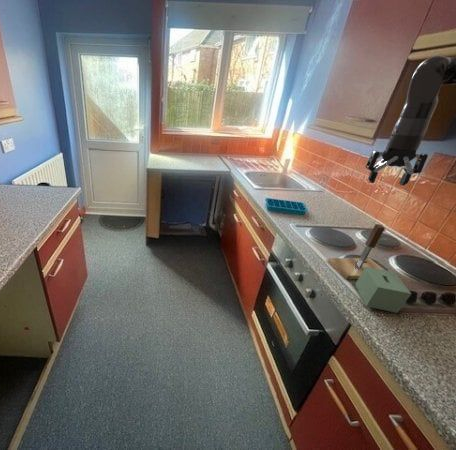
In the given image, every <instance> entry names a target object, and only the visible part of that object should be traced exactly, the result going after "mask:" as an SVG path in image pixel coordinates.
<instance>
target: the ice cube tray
mask: <svg viewBox="0 0 456 450" xmlns="http://www.w3.org/2000/svg"><path fill="white" fill-rule="evenodd" d="M264 201H265V208H266V210H267V211H268V212H275V213H281V214H290V215H296V216H305V214H306V213H307V212H309V209H308V207H307V206H306V204H305V203H304V202H302V201H294V200H288V199H287V200H286V199H280V198H279V199H278V198H272V197H271V198H270V197H265V199H264Z"/></svg>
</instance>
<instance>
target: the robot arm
mask: <svg viewBox="0 0 456 450" xmlns="http://www.w3.org/2000/svg"><path fill="white" fill-rule="evenodd" d="M448 85H449V86H450V85H456V56H449V57H447V56H444V55H434V56H431V57H428V58H427V59H425V60H424V61H422V62H421V63H419V65H417V67H416V69H415V70H414V72H413V74H412V76H411V79H410V83H409V86H408V90H407V96H406V100H405V103H404V105H403V107H402V110H401V112H400V115H399V117H398V119H397V121H396V123H395V124H394V126H393V129H392V131H391V134H390V136H389V139H388V142H387V143H386V147H385V150H383V151H377V150H372V151H371V153H370V156H369V158H368V160H367V162H366V165H365V169H367V170H369V171H370V173H369V175H368V178H367V180H368V182H369V183H370V184H374V183H375V181H376V180H377V177H378V174H379V172H380V171H381V170H382V169H384V168H386V167H388V166H389V167H399V168H400V167H402V169H403V171H404V172H403V174H402V176H401V178H400V180H399V182H398V184H399V185H400V186H403V187H404V186H406V185H407V184H408V183H409V182H410V180H411V178H412V176H413V175H414V174H421V173H422V171H423V169H424V167H425V164H426V163H427V159H428V157H429V155H428V154H427V153H424V152H420V153H417V151H418V149H419V148H420V145H421V144H422V141H423V139H424V137H425V134H426V133H427V130H428V128H429V125H430V121H431V119H432V117H433V114H434V112H435V110H436V108H437V105H438V103H439V96H438V95H439V93H440V90H441V87H442V86H448ZM381 157H382V159H380V158H381ZM378 159H380V160H379V161H378V162H377V160H378ZM414 159H415V163H414V165H413V166H412V164H411V161H413V160H414ZM376 162H377V163H376Z"/></svg>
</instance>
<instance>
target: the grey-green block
mask: <svg viewBox="0 0 456 450" xmlns="http://www.w3.org/2000/svg"><path fill="white" fill-rule="evenodd" d="M354 286H355V288H356V290H357V291H358V293H359V295H360V297H361V299H362V300H363V303H364V304H365V307H368V308H372V309H377V310H382V311H386V312H391V313H395V314H398V313H399V312H400V310H401V309H402V307H403V306H404V305H405V304H406V302H407V301H408V300H409V298H410V296H411V295H412V292H411V290H409V289H408V287H407V286H406V284H405V283H404V282H403V281H402V280H401V278H400V277H399V276H398V274H397V273H396V272H395V271H392V270H386V269H384V270H381V269H376V268H370V267H365V268H364V269H363V271H362V273H361V275H360V277H359V278H358V279H356V282H355V284H354Z"/></svg>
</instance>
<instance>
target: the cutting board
mask: <svg viewBox="0 0 456 450" xmlns="http://www.w3.org/2000/svg"><path fill="white" fill-rule="evenodd" d="M359 258H360V257H348V258H347V257H329V258H328V261H327V262H328V263H329V264H330V265H331V266H332V267H333V268H334V269H335V270H336V271H337V272H338V273H339V274H340V275H341V276H342V277H343V278H345V280H358V278H359V277H360V275H361V273H362V271H363V270H362V269H364V268H365V267H370V268H376V269H381V270H385V269H384V268H383V267H382V266H380V265H379V264H377V263H376V261H374V260H373V259H371V258H370V257H367V258H366V260H365V261H367V263H364V264H363V265H362V267H361V269H360V268H359V270H358V269H357V268H356V269H355V262H357V261H358V260H359Z"/></svg>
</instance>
